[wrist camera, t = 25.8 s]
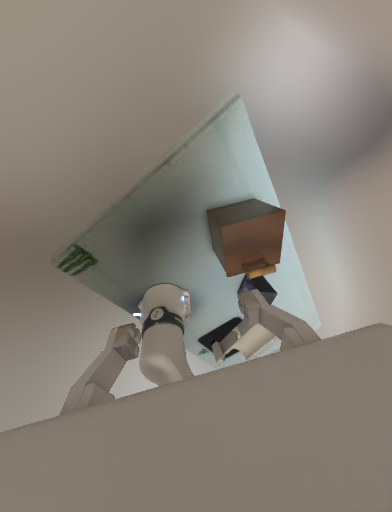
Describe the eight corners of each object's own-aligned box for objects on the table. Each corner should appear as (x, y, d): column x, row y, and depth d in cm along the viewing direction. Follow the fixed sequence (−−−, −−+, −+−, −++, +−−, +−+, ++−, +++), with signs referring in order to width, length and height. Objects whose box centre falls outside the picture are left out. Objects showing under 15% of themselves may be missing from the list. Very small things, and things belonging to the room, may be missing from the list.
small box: (245, 271, 55) (261, 292, 46) (261, 272, 57) (279, 293, 48) (236, 293, 60) (248, 315, 51) (250, 294, 62) (265, 315, 53)
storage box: (254, 238, 49) (278, 258, 38) (213, 249, 48) (226, 273, 38) (254, 198, 42) (283, 209, 32) (206, 210, 42) (219, 225, 31)
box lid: (277, 261, 39) (291, 273, 34) (226, 275, 38) (233, 289, 34) (283, 209, 31) (301, 216, 27) (220, 225, 31) (228, 235, 27)
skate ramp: (244, 349, 84) (252, 370, 76) (211, 342, 75) (216, 365, 67) (276, 321, 75) (290, 341, 67) (243, 310, 66) (255, 331, 58)
